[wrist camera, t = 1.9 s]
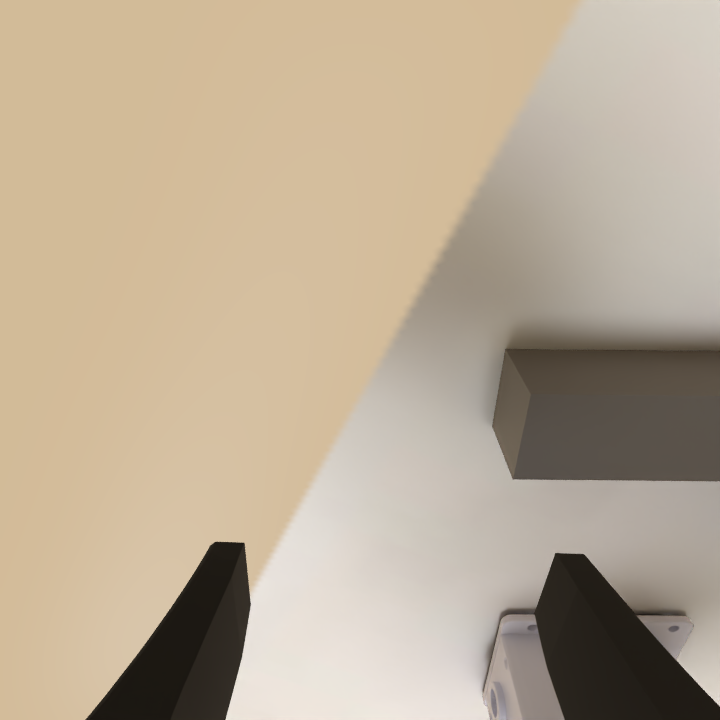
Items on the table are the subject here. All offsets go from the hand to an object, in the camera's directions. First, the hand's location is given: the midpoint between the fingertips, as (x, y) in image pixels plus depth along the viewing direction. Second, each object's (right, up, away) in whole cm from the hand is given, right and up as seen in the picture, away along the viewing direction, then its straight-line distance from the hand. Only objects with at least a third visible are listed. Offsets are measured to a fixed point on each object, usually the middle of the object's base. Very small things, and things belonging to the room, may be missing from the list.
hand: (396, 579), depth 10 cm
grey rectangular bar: (+10, +4, +8) cm, 13 cm away
